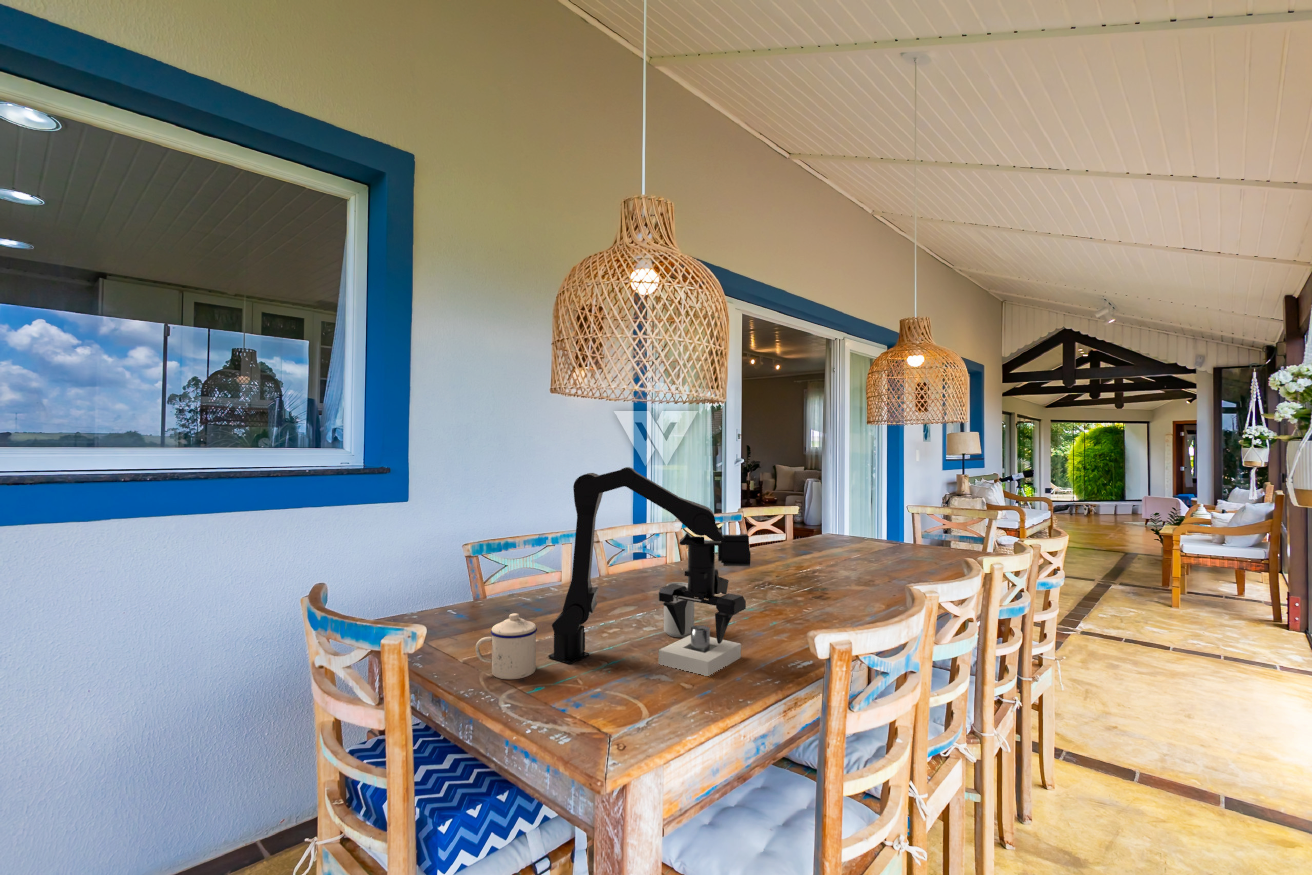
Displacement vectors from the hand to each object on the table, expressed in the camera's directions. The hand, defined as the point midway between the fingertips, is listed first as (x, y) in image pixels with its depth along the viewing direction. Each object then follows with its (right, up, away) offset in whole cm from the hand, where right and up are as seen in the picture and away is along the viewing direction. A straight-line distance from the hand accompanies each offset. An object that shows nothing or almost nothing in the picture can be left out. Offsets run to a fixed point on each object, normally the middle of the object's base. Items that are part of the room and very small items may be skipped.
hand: (700, 638), depth 134 cm
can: (-4, -5, +19) cm, 20 cm away
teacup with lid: (-40, -5, -7) cm, 41 cm away
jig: (0, -5, 0) cm, 5 cm away
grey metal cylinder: (0, -5, 0) cm, 5 cm away
